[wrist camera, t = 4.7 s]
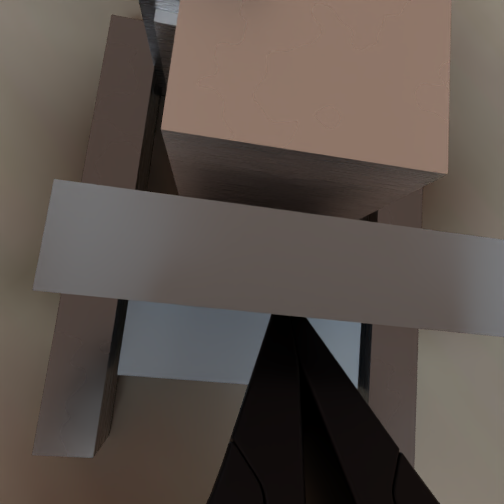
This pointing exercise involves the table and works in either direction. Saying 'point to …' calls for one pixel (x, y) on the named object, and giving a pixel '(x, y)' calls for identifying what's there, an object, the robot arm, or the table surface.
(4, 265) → the table surface
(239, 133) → the wooden block
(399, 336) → the vise
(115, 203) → the jaw
